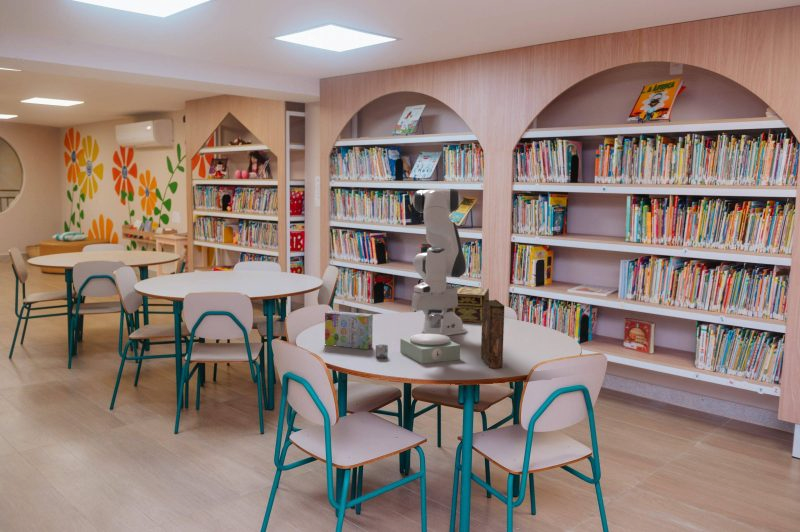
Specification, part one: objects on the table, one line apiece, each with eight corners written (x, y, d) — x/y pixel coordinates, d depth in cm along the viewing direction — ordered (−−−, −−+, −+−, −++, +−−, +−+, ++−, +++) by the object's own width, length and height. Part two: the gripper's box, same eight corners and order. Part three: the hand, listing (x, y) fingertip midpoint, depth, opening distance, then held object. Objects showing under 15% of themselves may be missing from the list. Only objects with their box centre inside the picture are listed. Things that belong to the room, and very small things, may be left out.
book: (503, 368, 253) (505, 306, 250) (489, 368, 253) (491, 306, 250) (493, 357, 269) (495, 299, 266) (480, 357, 269) (482, 299, 266)
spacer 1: (384, 355, 270) (384, 343, 270) (389, 358, 266) (389, 346, 265) (373, 356, 268) (373, 344, 268) (378, 359, 264) (378, 347, 263)
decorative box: (457, 312, 368) (457, 286, 366) (489, 313, 364) (490, 287, 362) (449, 321, 342) (450, 293, 340) (484, 323, 337) (485, 295, 336)
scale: (436, 348, 284) (437, 331, 283) (460, 359, 265) (461, 342, 264) (400, 351, 276) (400, 334, 275) (422, 364, 258) (422, 346, 257)
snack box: (372, 347, 284) (373, 313, 283) (368, 350, 279) (368, 316, 277) (329, 342, 291) (329, 310, 289) (324, 345, 286) (324, 312, 284)
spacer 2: (437, 325, 269) (437, 313, 269) (443, 327, 265) (443, 315, 264) (426, 325, 267) (427, 313, 267) (432, 328, 263) (432, 316, 262)
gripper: (453, 284, 271) (452, 316, 273) (410, 286, 262) (409, 319, 264) (461, 286, 266) (460, 319, 267) (417, 289, 257) (416, 322, 259)
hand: (434, 319), depth 266 cm, fingers closed on spacer 2, 5 cm apart
